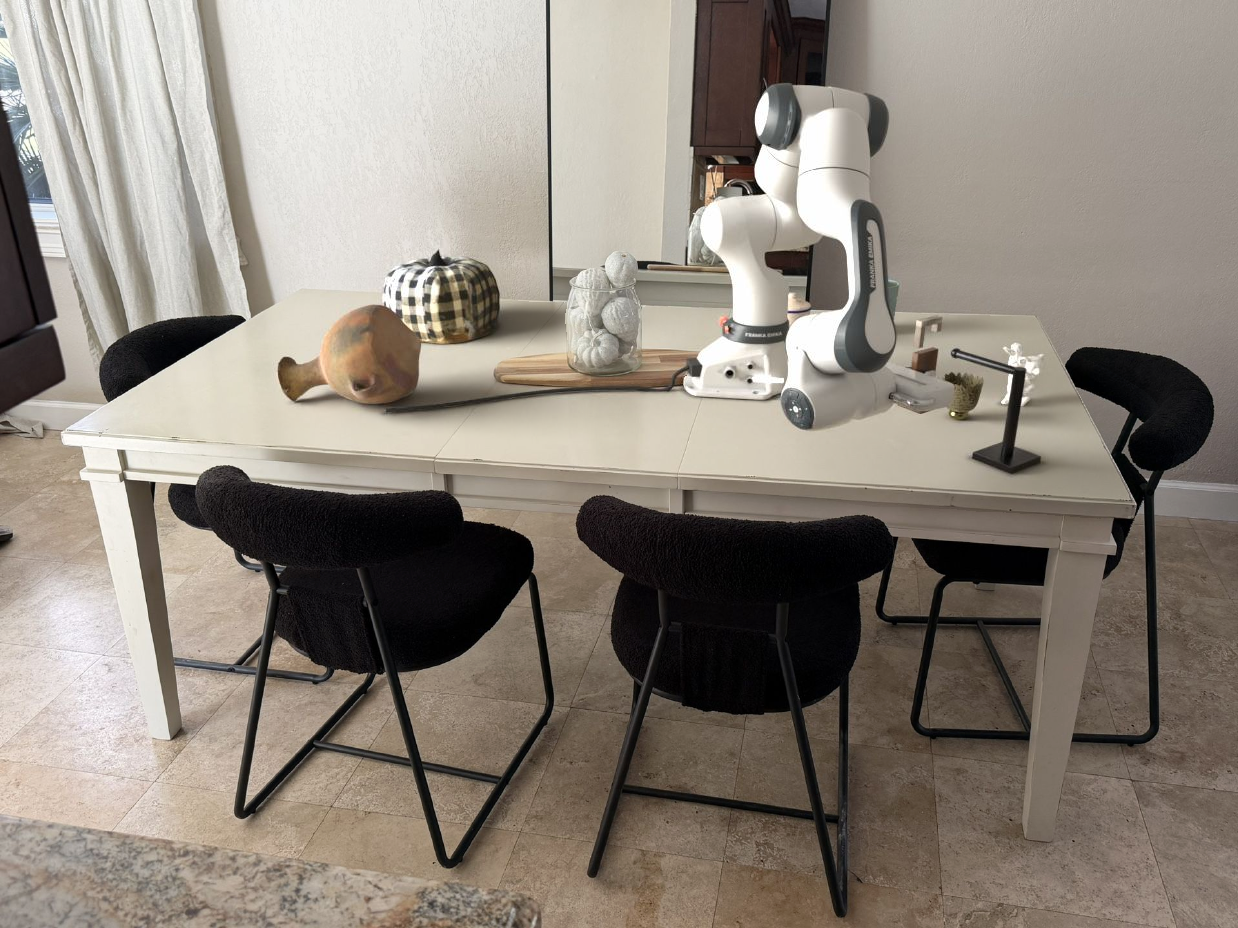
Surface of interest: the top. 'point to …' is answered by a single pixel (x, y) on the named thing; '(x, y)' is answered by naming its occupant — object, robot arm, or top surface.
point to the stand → (1006, 452)
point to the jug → (359, 359)
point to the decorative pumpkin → (444, 298)
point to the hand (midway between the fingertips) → (926, 372)
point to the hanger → (927, 356)
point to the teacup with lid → (797, 308)
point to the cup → (963, 394)
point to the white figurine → (1033, 369)
